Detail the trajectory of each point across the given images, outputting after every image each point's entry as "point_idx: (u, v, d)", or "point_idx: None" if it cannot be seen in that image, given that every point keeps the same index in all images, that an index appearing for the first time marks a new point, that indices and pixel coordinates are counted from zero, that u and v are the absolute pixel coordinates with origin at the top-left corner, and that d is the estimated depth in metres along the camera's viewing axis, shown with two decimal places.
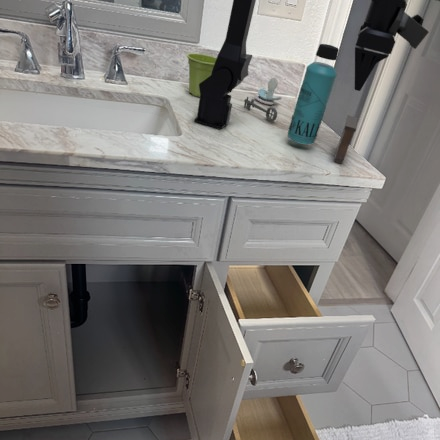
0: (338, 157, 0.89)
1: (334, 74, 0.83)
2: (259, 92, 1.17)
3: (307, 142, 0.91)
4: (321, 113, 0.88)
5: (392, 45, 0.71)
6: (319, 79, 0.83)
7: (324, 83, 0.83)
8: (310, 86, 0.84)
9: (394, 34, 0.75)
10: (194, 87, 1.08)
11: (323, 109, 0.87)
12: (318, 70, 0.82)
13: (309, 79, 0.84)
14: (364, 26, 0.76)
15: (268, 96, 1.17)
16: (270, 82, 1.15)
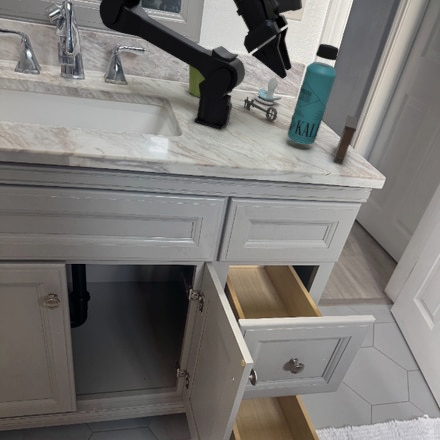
0: (338, 157, 0.89)
1: (334, 74, 0.83)
2: (259, 92, 1.17)
3: (307, 142, 0.91)
4: (321, 113, 0.88)
5: (272, 26, 0.74)
6: (319, 79, 0.83)
7: (324, 83, 0.83)
8: (310, 86, 0.84)
9: (274, 17, 0.79)
10: (194, 87, 1.08)
11: (323, 109, 0.87)
12: (318, 70, 0.82)
13: (309, 79, 0.84)
14: None
15: (268, 96, 1.17)
16: (270, 82, 1.15)
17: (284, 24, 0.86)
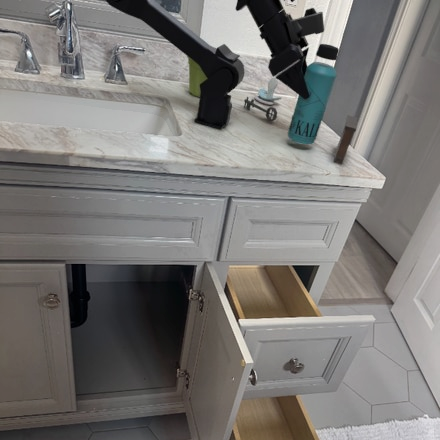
0: (338, 157, 0.89)
1: (334, 74, 0.83)
2: (259, 92, 1.17)
3: (307, 142, 0.91)
4: (321, 113, 0.88)
5: (297, 51, 0.76)
6: (319, 79, 0.83)
7: (324, 83, 0.83)
8: (310, 86, 0.84)
9: (297, 40, 0.80)
10: (194, 87, 1.08)
11: (323, 109, 0.87)
12: (318, 70, 0.82)
13: (309, 79, 0.84)
14: (273, 57, 0.83)
15: (268, 96, 1.17)
16: (270, 82, 1.15)
17: (305, 45, 0.88)
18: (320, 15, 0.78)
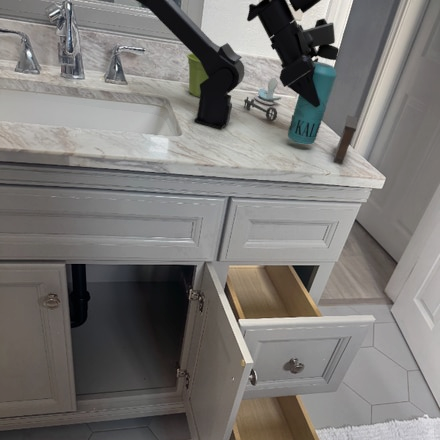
0: (338, 157, 0.89)
1: (334, 74, 0.83)
2: (259, 92, 1.17)
3: (307, 142, 0.91)
4: (321, 113, 0.88)
5: (308, 62, 0.76)
6: (319, 79, 0.83)
7: (324, 82, 0.83)
8: None
9: (308, 51, 0.81)
10: (194, 87, 1.08)
11: (323, 109, 0.87)
12: (318, 69, 0.82)
13: None
14: (284, 67, 0.84)
15: (268, 96, 1.17)
16: (270, 82, 1.15)
17: (315, 55, 0.88)
18: (331, 26, 0.78)
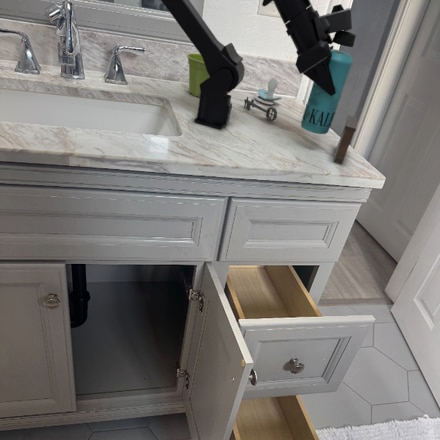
0: (338, 157, 0.89)
1: (350, 61, 0.81)
2: (259, 92, 1.17)
3: (321, 132, 0.89)
4: (336, 102, 0.86)
5: (326, 47, 0.74)
6: (335, 66, 0.81)
7: (340, 70, 0.81)
8: None
9: (325, 37, 0.79)
10: (194, 87, 1.08)
11: (338, 98, 0.86)
12: (335, 57, 0.80)
13: None
14: (299, 54, 0.82)
15: (268, 96, 1.17)
16: (270, 82, 1.15)
17: (330, 42, 0.86)
18: (349, 11, 0.76)
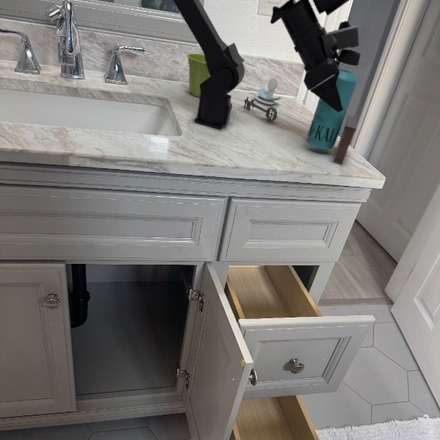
0: (338, 157, 0.89)
1: (355, 79, 0.83)
2: (259, 92, 1.17)
3: (327, 147, 0.91)
4: (341, 118, 0.87)
5: (334, 65, 0.76)
6: (340, 84, 0.83)
7: (345, 88, 0.83)
8: None
9: (332, 53, 0.80)
10: (194, 87, 1.08)
11: (343, 114, 0.87)
12: (340, 75, 0.82)
13: None
14: (306, 70, 0.83)
15: (268, 96, 1.17)
16: (270, 82, 1.15)
17: (337, 57, 0.88)
18: (356, 29, 0.78)
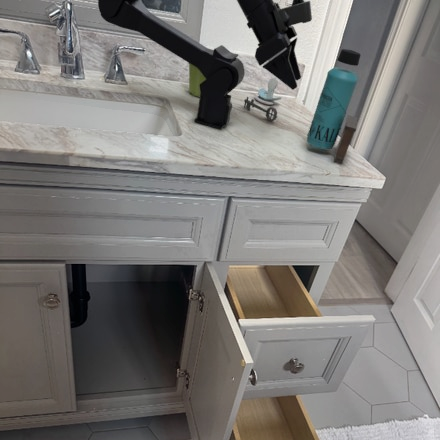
0: (338, 157, 0.89)
1: (355, 79, 0.83)
2: (259, 92, 1.17)
3: (327, 147, 0.91)
4: (341, 118, 0.87)
5: (283, 39, 0.75)
6: (340, 84, 0.83)
7: (345, 88, 0.83)
8: (331, 91, 0.84)
9: (285, 29, 0.79)
10: (194, 87, 1.08)
11: (343, 114, 0.87)
12: (340, 75, 0.82)
13: (330, 84, 0.84)
14: None
15: (268, 96, 1.17)
16: (270, 82, 1.15)
17: (293, 35, 0.87)
18: (307, 4, 0.77)
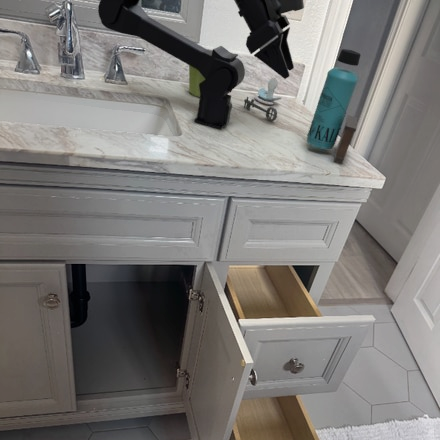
0: (338, 157, 0.89)
1: (355, 79, 0.83)
2: (259, 92, 1.17)
3: (327, 147, 0.91)
4: (341, 118, 0.87)
5: (274, 27, 0.74)
6: (340, 84, 0.83)
7: (345, 88, 0.83)
8: (331, 91, 0.84)
9: (276, 17, 0.79)
10: (194, 87, 1.08)
11: (343, 114, 0.87)
12: (340, 75, 0.82)
13: (330, 84, 0.84)
14: None
15: (268, 96, 1.17)
16: (270, 82, 1.15)
17: (286, 24, 0.86)
18: None
